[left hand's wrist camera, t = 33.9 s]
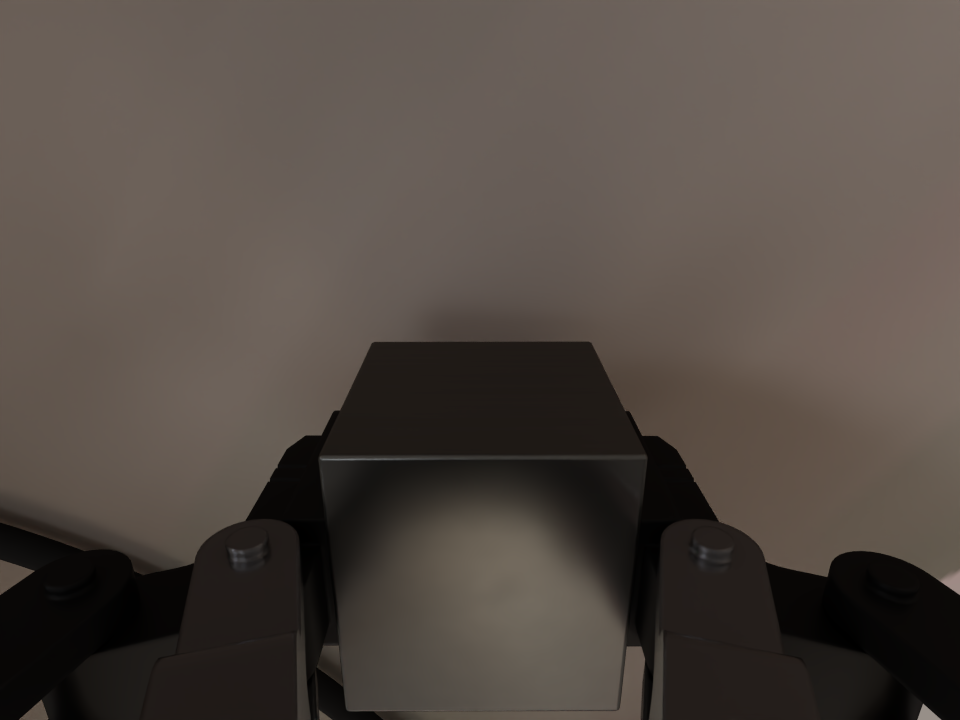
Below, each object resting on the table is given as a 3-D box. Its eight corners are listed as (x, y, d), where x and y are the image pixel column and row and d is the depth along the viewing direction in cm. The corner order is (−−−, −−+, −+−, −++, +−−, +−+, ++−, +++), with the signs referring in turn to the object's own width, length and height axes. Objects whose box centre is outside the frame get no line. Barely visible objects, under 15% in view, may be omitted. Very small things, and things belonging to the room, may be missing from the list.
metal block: (591, 340, 12) (649, 456, 8) (578, 534, 13) (620, 712, 9) (371, 340, 12) (316, 455, 8) (384, 535, 13) (344, 713, 9)
